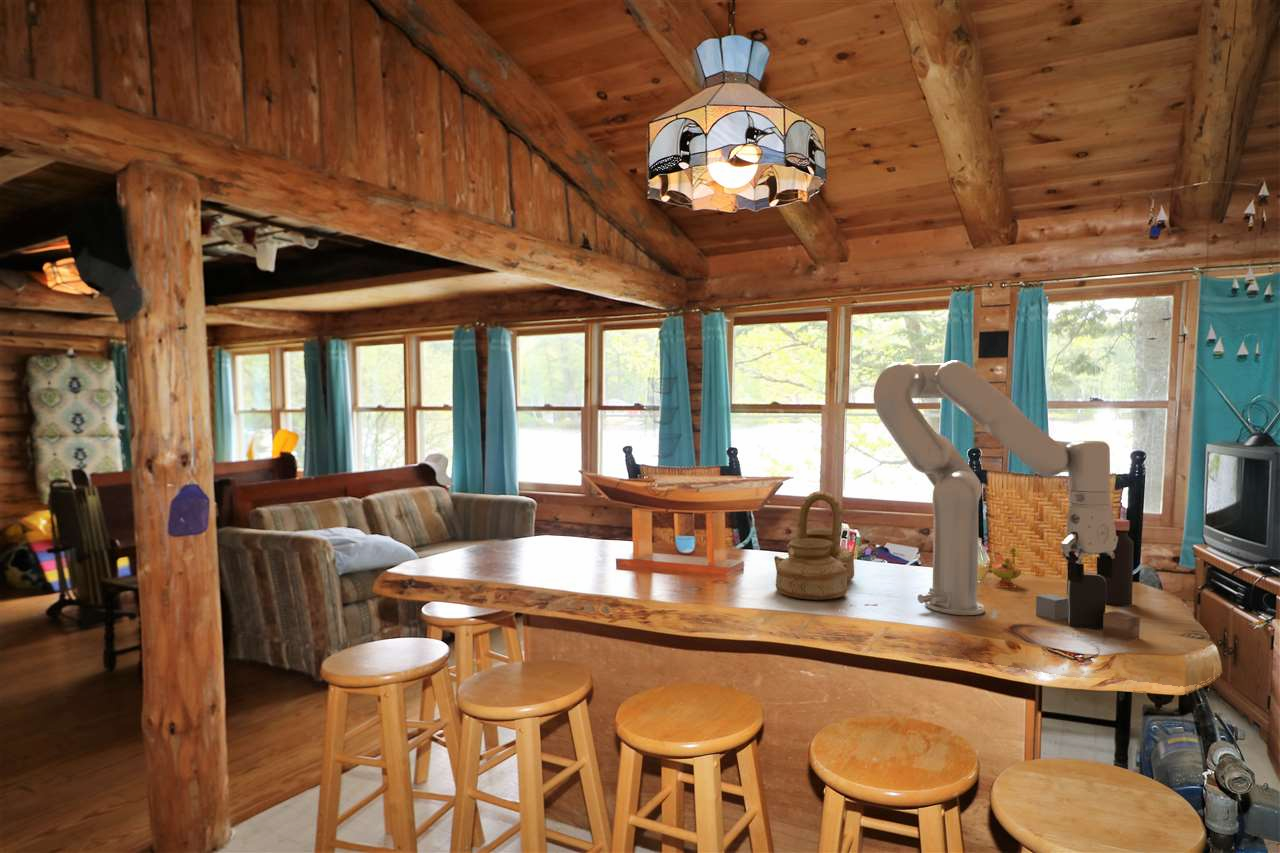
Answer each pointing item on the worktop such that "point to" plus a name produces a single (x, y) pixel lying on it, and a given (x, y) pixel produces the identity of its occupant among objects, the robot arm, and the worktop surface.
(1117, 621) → the walnut block
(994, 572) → the flower arrangement
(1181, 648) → the worktop surface
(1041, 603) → the grey block
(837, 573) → the ceramic vessel
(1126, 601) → the bottle
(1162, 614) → the worktop surface
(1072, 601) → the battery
